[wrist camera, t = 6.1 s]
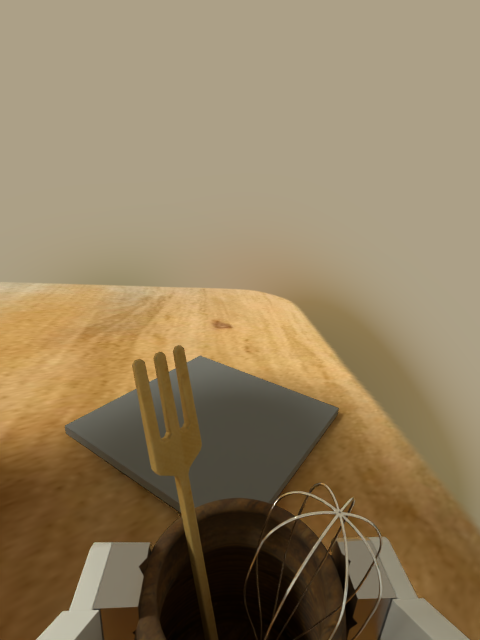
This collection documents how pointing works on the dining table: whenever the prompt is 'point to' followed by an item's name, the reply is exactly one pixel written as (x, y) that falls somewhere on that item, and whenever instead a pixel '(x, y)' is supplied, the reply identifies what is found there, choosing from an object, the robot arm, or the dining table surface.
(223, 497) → the charcoal mat
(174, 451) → the utensil holder
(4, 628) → the dining table surface
